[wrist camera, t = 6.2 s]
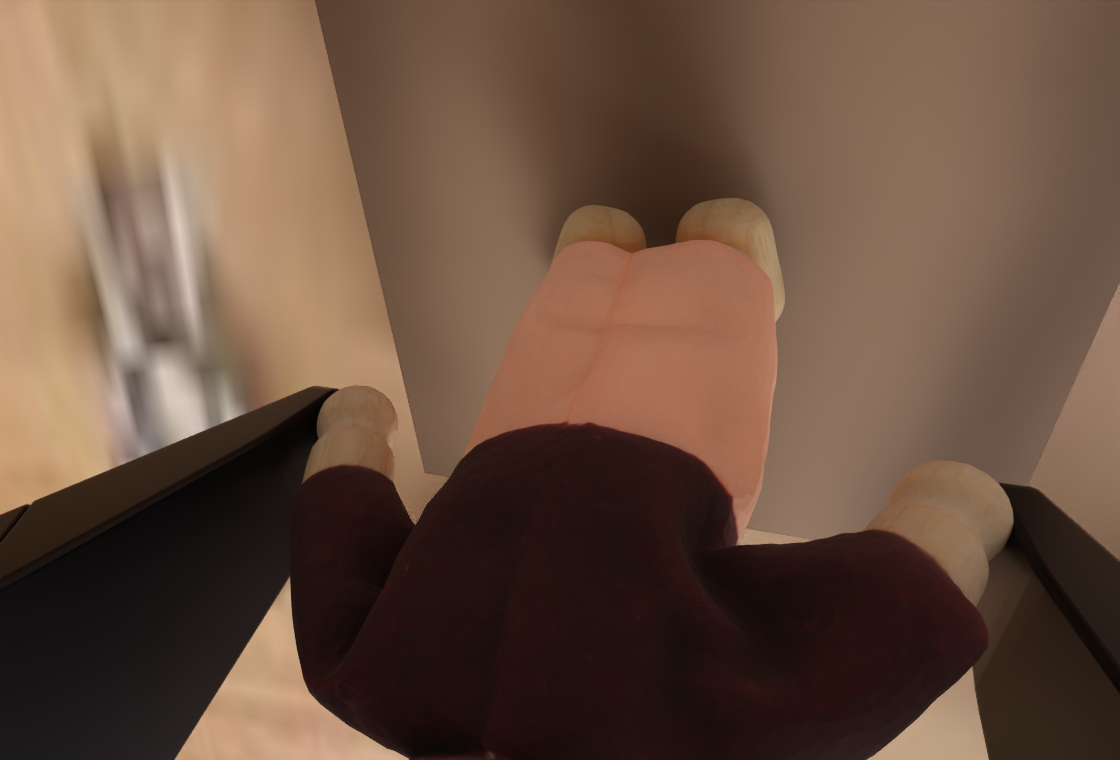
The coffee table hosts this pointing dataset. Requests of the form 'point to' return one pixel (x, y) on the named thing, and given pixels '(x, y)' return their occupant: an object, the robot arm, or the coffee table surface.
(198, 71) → the coffee table surface
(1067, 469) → the coffee table surface
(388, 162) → the walnut base
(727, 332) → the grandmother figurine
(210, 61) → the coffee table surface
